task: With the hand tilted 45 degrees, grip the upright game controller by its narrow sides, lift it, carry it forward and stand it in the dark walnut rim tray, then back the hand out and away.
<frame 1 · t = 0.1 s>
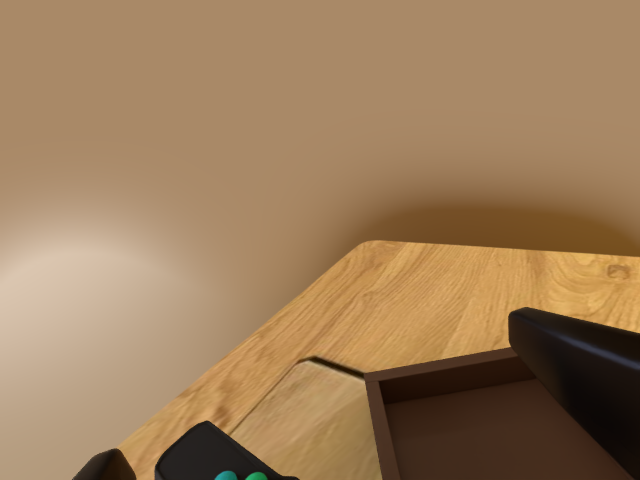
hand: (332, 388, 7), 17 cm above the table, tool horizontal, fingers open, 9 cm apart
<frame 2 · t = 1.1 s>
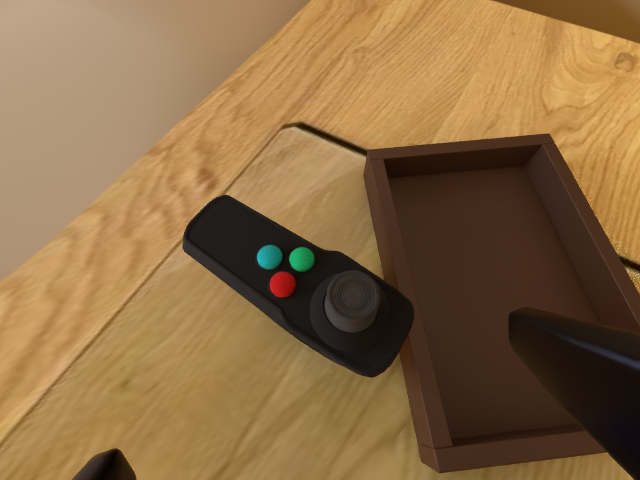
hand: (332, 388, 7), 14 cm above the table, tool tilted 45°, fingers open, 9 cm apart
tray: (484, 280, 23), on the table
controller: (299, 311, 22), on the table
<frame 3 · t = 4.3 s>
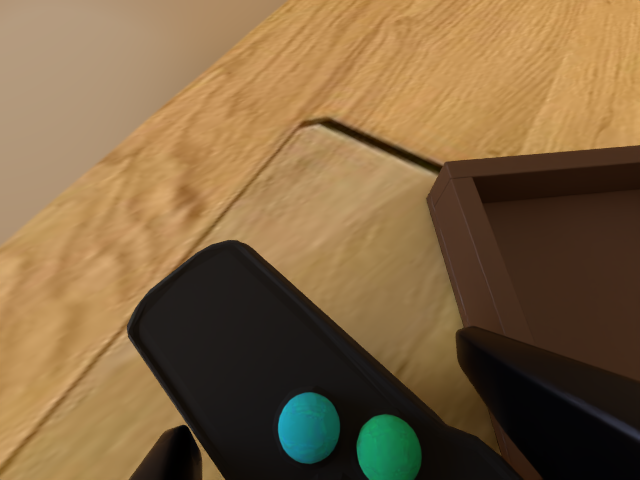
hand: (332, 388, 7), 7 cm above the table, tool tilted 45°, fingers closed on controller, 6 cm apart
controller: (335, 432, 13), on the table, touching gripper
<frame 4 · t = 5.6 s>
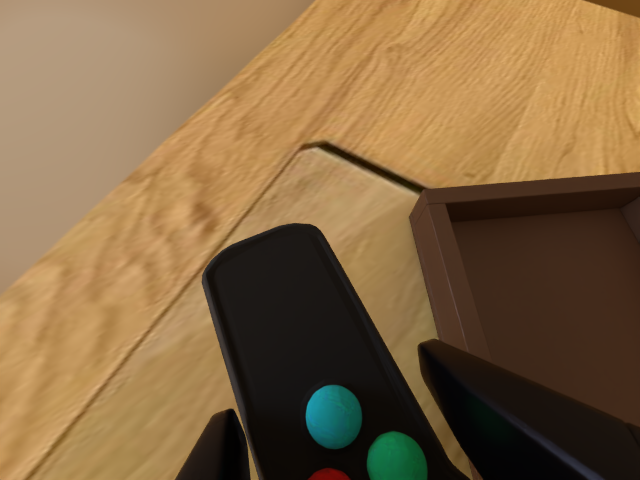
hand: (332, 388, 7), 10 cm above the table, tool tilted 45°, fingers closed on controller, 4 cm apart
tray: (582, 373, 17), on the table
controller: (330, 424, 14), point 2 cm above the table, touching gripper
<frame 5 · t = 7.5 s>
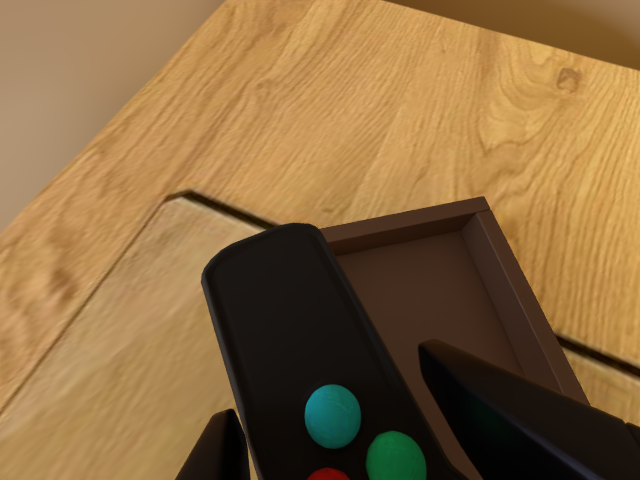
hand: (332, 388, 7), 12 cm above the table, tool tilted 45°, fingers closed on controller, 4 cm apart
tray: (418, 397, 18), on the table
controller: (329, 424, 14), point 4 cm above the table, touching gripper
when the fingers open (8 cm above the table, at t = 9.9 s): controller stays where it is, resting on tray.
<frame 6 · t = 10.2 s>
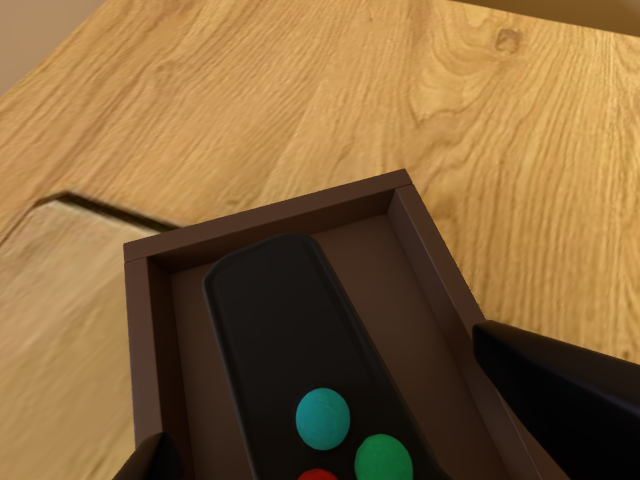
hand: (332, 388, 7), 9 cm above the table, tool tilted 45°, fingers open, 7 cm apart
tray: (336, 424, 14), on the table
controller: (331, 429, 14), resting on tray
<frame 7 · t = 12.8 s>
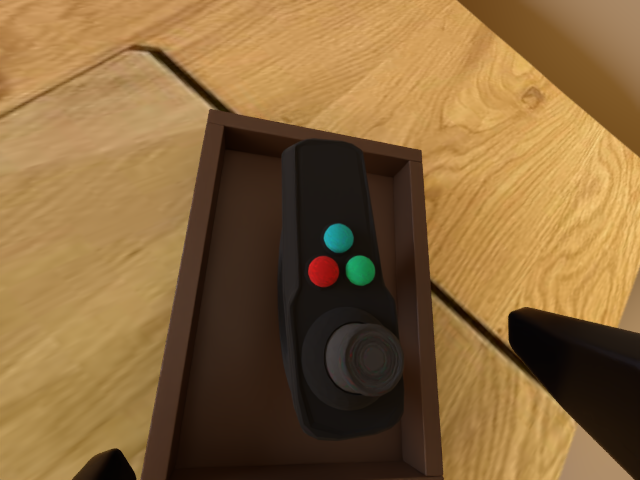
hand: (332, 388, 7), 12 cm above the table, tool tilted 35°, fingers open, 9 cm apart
tray: (304, 293, 20), on the table
controller: (302, 293, 20), resting on tray
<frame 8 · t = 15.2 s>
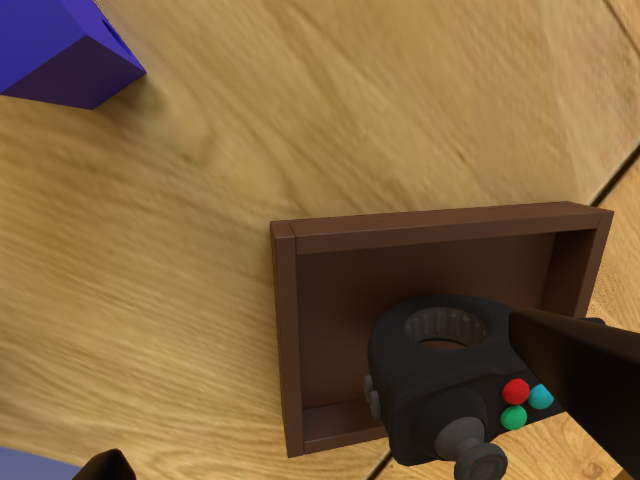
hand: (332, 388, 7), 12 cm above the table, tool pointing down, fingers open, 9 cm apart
tray: (423, 310, 22), on the table
controller: (425, 310, 22), resting on tray
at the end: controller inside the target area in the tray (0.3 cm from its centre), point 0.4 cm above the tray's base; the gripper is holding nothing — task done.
